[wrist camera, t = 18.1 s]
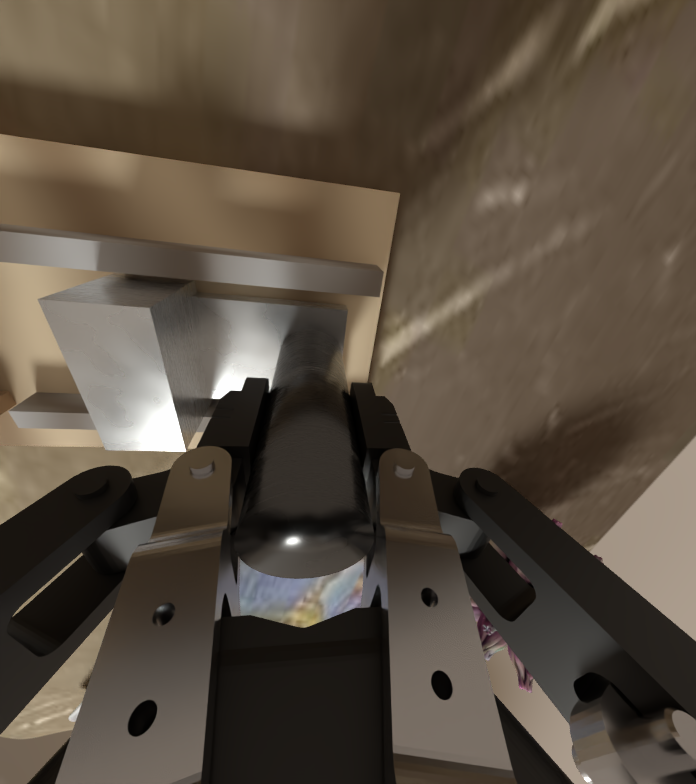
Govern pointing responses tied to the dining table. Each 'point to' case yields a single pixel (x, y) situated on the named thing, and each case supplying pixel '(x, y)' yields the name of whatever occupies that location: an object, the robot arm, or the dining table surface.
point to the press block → (212, 381)
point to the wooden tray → (167, 257)
